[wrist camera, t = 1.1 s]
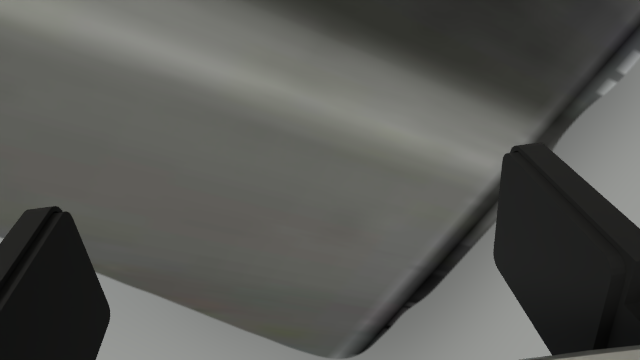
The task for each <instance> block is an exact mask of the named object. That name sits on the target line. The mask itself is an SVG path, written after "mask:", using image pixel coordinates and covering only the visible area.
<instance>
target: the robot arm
mask: <svg viewBox="0 0 640 360" xmlns="http://www.w3.org/2000/svg"><path fill="white" fill-rule="evenodd" d="M494 260H495V264H496V266H497V268H498V270H499V271H500V273H501V275H502V276H503V278H504V279H505V281H506V283H507V284H508V286H509V287H510V289H511V290H512V292H513V294H514V295H515V297H516V298H517V300H518V301H519V303H520V305H521V306H522V308H523V310H524V311H525V313H526V314H527V316H528V317H529V319H530V321H531V322H532V324H533V325H534V327H535V329H536V330H537V332H538V333H539V335H540V337H541V338H542V340H543V341H544V343H545V344H546V346H547V348H548V349H549V351H550V352H551V354H552V356H545V357H537V358H529V359H522V360H640V229H639V228H638V227H637V226H636V225H635V224H634V223H633V222H631V221H630V220H629V219H628V218H627V217H626V216H625V215H624V214H622V213H621V212H620V211H619V210H618V209H617V208H616V207H615V206H613V205H612V204H611V203H610V202H609V201H608V200H607V199H605V198H604V197H603V196H602V195H601V194H600V193H598V192H597V191H596V190H595V189H594V188H593V187H592V186H591V185H589V184H588V183H587V182H586V181H585V180H584V179H583V178H582V177H580V176H579V175H578V174H577V173H576V172H575V171H574V170H573V169H571V168H570V167H569V166H568V165H567V164H566V163H565V162H564V161H562V160H561V159H560V158H559V157H558V156H557V155H556V154H554V153H553V152H552V151H551V150H550V149H549V148H548V147H547V146H545V145H544V144H543V143H533V144H526V145H518V146H514V147H513V148H512V149H511V151H510V153H507V154H505V155H504V157H503V161H502V171H501V181H500V191H499V201H498V211H497V221H496V232H495V242H494ZM109 320H110V308H109V305H108V302H107V300H106V297H105V295H104V292H103V290H102V288H101V285H100V283H99V280H98V278H97V275H96V273H95V271H94V268H93V266H92V263H91V261H90V259H89V256H88V254H87V251H86V249H85V247H84V244H83V242H82V239H81V237H80V235H79V232H78V230H77V227H76V225H75V223H74V220H73V218H72V216H71V214H70V213H69V212H62V210H61V209H60V208H59V207H57V206H53V207H45V208H38V209H30V210H26V211H25V212H24V213H23V214H22V216H21V217H20V218H19V220H18V221H17V222H16V224H15V225H14V226H13V228H12V229H11V230H10V231H9V233H8V234H7V235H6V237H5V238H4V239H3V241H2V242H1V243H0V360H96V357H97V354H98V351H99V348H100V346H101V343H102V341H103V338H104V335H105V332H106V329H107V327H108V324H109Z"/></svg>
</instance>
